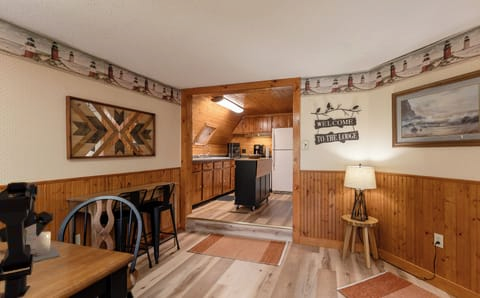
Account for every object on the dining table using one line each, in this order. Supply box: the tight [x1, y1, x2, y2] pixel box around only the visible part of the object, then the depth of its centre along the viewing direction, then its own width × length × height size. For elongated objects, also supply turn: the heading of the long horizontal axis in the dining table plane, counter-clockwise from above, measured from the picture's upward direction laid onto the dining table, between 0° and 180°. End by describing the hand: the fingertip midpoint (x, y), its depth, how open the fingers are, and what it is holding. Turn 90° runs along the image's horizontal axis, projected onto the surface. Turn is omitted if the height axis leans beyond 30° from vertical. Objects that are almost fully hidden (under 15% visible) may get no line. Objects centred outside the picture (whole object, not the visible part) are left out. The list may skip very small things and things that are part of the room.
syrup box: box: [24, 224, 44, 251], centre depth 123 cm, size 6×6×14 cm
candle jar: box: [34, 231, 52, 256], centre depth 115 cm, size 6×6×10 cm
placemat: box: [31, 245, 61, 264], centre depth 115 cm, size 16×11×1 cm
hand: (25, 241), depth 101 cm, fingers open, 9 cm apart
